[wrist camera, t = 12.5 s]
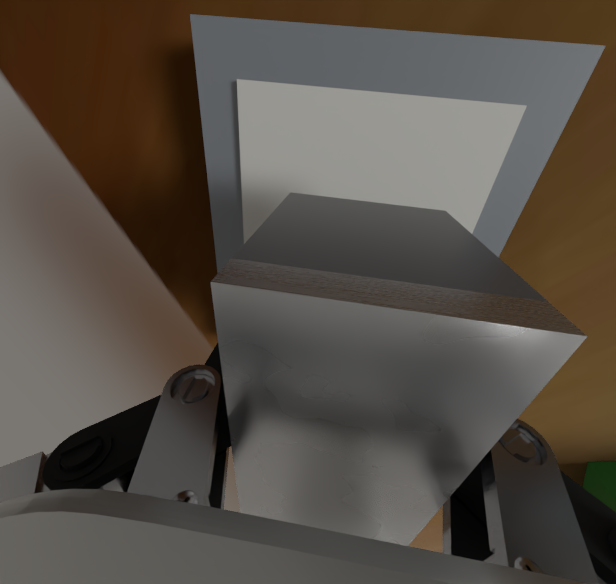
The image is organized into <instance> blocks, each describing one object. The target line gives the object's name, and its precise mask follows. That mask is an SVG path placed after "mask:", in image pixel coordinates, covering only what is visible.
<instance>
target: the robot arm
mask: <svg viewBox="0 0 616 584" xmlns="http://www.w3.org/2000/svg"><path fill="white" fill-rule="evenodd" d="M230 446H231V438H230V430H229V423H228V415H227V407H226V399H225V392H224V384H223V376H222V368H221V361H220V353H219V345H218V343H217V345H216V347H215V348H214V350H213V352H212V353H211V355H210V356H209V358H208V360H207V361H206V363H205V365H193V366H188V367H186V368H183V369H181V370H179V371H178V372H176V373H175V374H173V375H172V377H170V379H169V380H168V381H167V383H166V385H165V387H164V389H163V392H162V394H161V395H159V396H157V397H155V398H153V399H150V400H148V401H146V402H144V403H141V404H139V405H137V406H134V407H132V408H130V409H128V410H126V411H124V412H121V413H119V414H116V415H114V416H112V417H110V418H107V419H105V420H103V421H100V422H98V423H96V424H94V425H91V426H89V427H87V428H85V429H82V430H80V431H79V432H77V433H75V434H73V435H71V436H70V437H68V438H67V439H66V440H64V441H63V442H62V443H61V444H59V446H58V447H57V448H56V449H55V450H54V451H53V452H52V453H50V454H47V455H45V454H44V453H43V452H40V453H37V454H34V455H32V456H29V457H26V458H24V459H21V460H18V461H16V462H13V463H10V464H8V465H5V466H3V467H0V584H616V512H615V511H614V510H612V509H611V508H609V507H608V506H607V505H605V504H604V503H603V502H601V501H600V500H599V499H597V498H596V497H595V496H593V495H592V494H591V493H589V492H588V491H587V490H585V489H584V488H583V487H581V486H580V485H579V484H577V483H576V482H574V481H573V480H572V479H570V478H569V477H568V476H566V475H565V474H564V473H562V472H561V471H560V470H559V467H558V464H557V461H556V458H555V455H554V453H553V451H552V449H551V447H550V445H549V444H548V443H547V441H546V440H545V439H544V438H543V436H542V435H541V434H539V433H538V432H537V431H536V430H535V429H534V428H533V427H531V426H530V425H528V424H527V423H525V422H524V421H522V420H519V419H516V420H515V421H514V423H513V424H512V425H511V426H510V427H509V428H508V430H507V431H506V432H505V433H504V434H503V435H502V437H501V438H500V439H499V440H498V441H497V442H496V444H495V445H494V446H493V447H492V448H491V449H490V451H489V452H488V453H487V454H486V455H485V456H484V458H483V459H482V460H481V461H480V462H479V463H478V465H477V466H476V467H475V468H474V469H473V470H472V472H471V473H470V474H469V475H468V476H467V477H466V479H465V480H464V481H463V482H462V483H461V484H460V486H459V487H458V488H457V489H456V490H455V491H454V493H453V494H452V495H451V496H450V497H449V498H448V500H447V501H446V502H445V503H444V504H443V553H439V552H434V551H429V550H424V549H419V548H414V547H409V546H404V545H399V544H394V543H389V542H385V541H380V540H375V539H370V538H365V537H360V536H355V535H350V534H345V533H340V532H335V531H330V530H325V529H320V528H315V527H310V526H305V525H300V524H295V523H290V522H285V521H279V520H274V519H269V518H264V517H259V516H254V515H249V514H244V513H238V512H233V511H228V510H224V499H225V488H226V477H227V467H228V455H229V447H230Z"/></svg>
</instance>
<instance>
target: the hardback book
mask: <svg viewBox="0 0 616 584" xmlns="http://www.w3.org/2000/svg"><path fill="white" fill-rule="evenodd" d="M583 488H584V489H585V490H587V491H588V492H589V493H591V494H592V495H593V496H595V497H596V498H597V499H599V500H600V501H601V502H603V503H604V504H605V505H607V506H608V507H609V508H611V509H612V510H614V511H615V512H616V461H604V462H588V463H587V468H586V473H585V477H584V482H583Z"/></svg>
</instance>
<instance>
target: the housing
mask: <svg viewBox="0 0 616 584" xmlns="http://www.w3.org/2000/svg"><path fill="white" fill-rule="evenodd" d="M210 283H211V291H212V299H213V306H214V314H215V322H216V330H217V337H218V345H219V353H220V361H221V368H222V376H223V384H224V392H225V399H226V407H227V415H228V423H229V430H230V438H231V446H232V454H233V461H234V469H235V476H236V485H237V492H238V500H239V508H240V513H244V514H249V515H254V516H259V517H264V518H269V519H274V520H279V521H285V522H290V523H295V524H300V525H305V526H310V527H315V528H320V529H325V530H330V531H335V532H340V533H345V534H350V535H355V536H360V537H365V538H370V539H375V540H380V541H385V542H389V543H394V544H399V545H404V546H408V545H409V544H410V543H411V542H412V540H413V539H414V538H415V537H416V536H417V535H418V533H419V532H420V531H421V530H422V529H423V528H424V526H425V525H426V524H427V523H428V522H429V521H430V519H431V518H432V517H433V516H434V515H435V514H436V512H437V511H438V510H439V509H440V508H441V507H442V505H443V504H444V503H445V502H446V501H447V500H448V498H449V497H450V496H451V495H452V494H453V493H454V491H455V490H456V489H457V488H458V487H459V486H460V484H461V483H462V482H463V481H464V480H465V479H466V477H467V476H468V475H469V474H470V473H471V472H472V470H473V469H474V468H475V467H476V466H477V465H478V463H479V462H480V461H481V460H482V459H483V458H484V456H485V455H486V454H487V453H488V452H489V451H490V449H491V448H492V447H493V446H494V445H495V444H496V442H497V441H498V440H499V439H500V438H501V437H502V435H503V434H504V433H505V432H506V431H507V430H508V428H509V427H510V426H511V425H512V424H513V423H514V421H515V420H516V419H517V418H518V417H519V416H520V415H521V413H522V412H523V411H524V410H525V409H526V408H527V406H528V405H529V404H530V403H531V402H532V401H533V399H534V398H535V397H536V396H537V395H538V394H539V392H540V391H541V390H542V389H543V388H544V387H545V385H546V384H547V383H548V382H549V381H550V380H551V378H552V377H553V376H554V375H555V374H556V373H557V371H558V370H559V369H560V368H561V367H562V366H563V364H564V363H565V362H566V361H567V360H568V359H569V357H570V356H571V355H572V354H573V353H574V352H575V350H576V349H577V348H578V347H579V346H580V345H581V343H582V342H583V341H584V340H585V339H586V338H587V336H586V335H585V334H584V333H583V332H582V331H581V330H580V329H579V328H577V327H576V326H575V325H574V324H573V323H572V322H571V321H570V320H568V319H567V318H566V317H565V316H564V315H563V314H562V313H560V312H559V311H558V310H557V309H556V308H555V307H554V306H553V305H551V304H550V303H549V302H548V301H547V300H546V299H545V298H544V297H542V296H541V295H540V294H539V293H538V292H537V291H536V290H535V289H533V288H532V287H531V286H530V285H529V284H528V283H527V282H525V281H524V280H523V279H522V278H521V277H520V276H519V275H518V274H516V273H515V272H514V271H513V270H512V269H511V268H510V267H509V266H507V265H506V264H505V263H504V262H503V261H502V260H501V259H500V258H498V257H497V256H496V255H495V254H494V253H493V252H492V251H491V250H489V249H488V248H487V247H486V246H485V245H484V244H483V243H481V242H480V241H479V240H478V239H477V238H476V237H475V236H474V235H472V234H471V233H470V232H469V231H468V230H467V229H466V228H465V227H463V226H462V225H461V224H460V223H459V222H458V221H457V220H456V219H454V218H453V217H452V216H451V215H450V214H449V213H448V212H446V211H443V210H435V209H427V208H418V207H410V206H401V205H393V204H385V203H376V202H368V201H359V200H351V199H343V198H334V197H326V196H317V195H309V194H300V193H292V192H290V193H289V194H288V196H287V197H286V198H285V199H284V200H283V201H282V202H281V203H280V205H279V206H278V207H277V208H276V209H275V210H274V211H273V212H272V213H271V215H270V216H269V217H268V218H267V219H266V220H265V221H264V222H263V224H262V225H261V226H260V227H259V228H258V229H257V230H256V231H255V233H254V234H253V235H252V236H251V237H250V238H249V239H248V240H247V241H246V243H245V244H244V245H243V246H242V247H241V248H240V249H239V250H238V252H237V253H236V254H235V255H234V256H233V257H232V258H231V259H230V260H229V262H228V263H227V264H226V265H225V266H224V267H223V268H222V269H221V271H220V272H219V273H218V274H217V275H216V276H215V277H214V278H213V280H212V281H211V282H210Z"/></svg>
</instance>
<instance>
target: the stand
mask: <svg viewBox="0 0 616 584" xmlns="http://www.w3.org/2000/svg"><path fill="white" fill-rule="evenodd" d="M190 19H191V28H192V38H193V47H194V56H195V66H196V75H197V85H198V94H199V103H200V113H201V122H202V132H203V141H204V150H205V160H206V169H207V178H208V188H209V197H210V207H211V216H212V225H213V235H214V244H215V254H216V263H217V272H218V273H219V272H220V271H221V269H222V268H223V267H224V266H225V265H226V264H227V263H228V262H229V260H230V259H231V258H232V257H233V256H234V255H235V254H236V253H237V252H238V250H239V249H240V248H241V247H242V246H243V245H244V244H245V243H246V241H247V240H248V239H249V238H250V237H251V236H252V235H253V234H254V233H255V231H256V230H257V229H258V228H259V227H260V226H261V225H262V224H263V222H264V221H265V220H266V219H267V218H268V217H269V216H270V215H271V213H272V212H273V211H274V210H275V209H276V208H277V207H278V206H279V205H280V203H281V202H282V201H283V200H284V199H285V198H286V197H287V196H288V194H289V193H290V192H292V193H300V194H309V195H317V196H326V197H334V198H343V199H351V200H359V201H368V202H376V203H385V204H393V205H401V206H410V207H418V208H427V209H435V210H443V211H446V212H448V213H449V214H450V215H451V216H452V217H453V218H454V219H456V220H457V221H458V222H459V223H460V224H461V225H462V226H463V227H465V228H466V229H467V230H468V231H469V232H470V233H471V234H472V235H474V236H475V237H476V238H477V239H478V240H479V241H480V242H481V243H483V244H484V245H485V246H486V247H487V248H488V249H489V250H491V251H492V252H493V253H494V254H495V255H496V256H497V257H499V255H500V253H501V251H502V249H503V247H504V245H505V243H506V241H507V239H508V237H509V235H510V233H511V231H512V229H513V227H514V225H515V224H516V222H517V220H518V218H519V216H520V214H521V212H522V210H523V208H524V206H525V204H526V202H527V200H528V198H529V196H530V194H531V192H532V190H533V188H534V186H535V184H536V182H537V180H538V178H539V176H540V174H541V172H542V170H543V168H544V166H545V164H546V162H547V160H548V158H549V156H550V155H551V153H552V151H553V149H554V147H555V145H556V143H557V141H558V139H559V137H560V135H561V133H562V131H563V129H564V127H565V125H566V123H567V121H568V119H569V117H570V115H571V113H572V111H573V109H574V107H575V105H576V103H577V101H578V99H579V97H580V95H581V93H582V91H583V89H584V87H585V85H586V84H587V82H588V80H589V78H590V76H591V74H592V72H593V70H594V68H595V66H596V64H597V62H598V60H599V58H600V56H601V54H602V52H603V50H604V48H605V46H602V45H588V44H575V43H562V42H549V41H536V40H523V39H509V38H496V37H483V36H470V35H457V34H444V33H430V32H417V31H404V30H391V29H378V28H364V27H351V26H338V25H325V24H312V23H299V22H285V21H272V20H259V19H246V18H233V17H220V16H206V15H193V14H190Z"/></svg>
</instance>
